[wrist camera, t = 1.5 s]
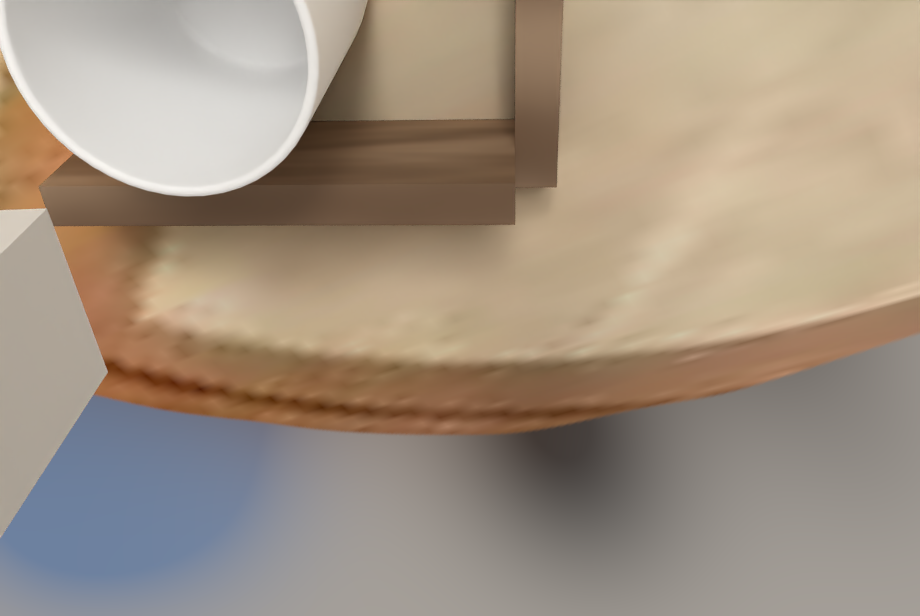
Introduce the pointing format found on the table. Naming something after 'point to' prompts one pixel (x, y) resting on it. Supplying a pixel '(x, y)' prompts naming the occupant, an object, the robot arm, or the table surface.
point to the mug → (177, 82)
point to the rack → (368, 164)
